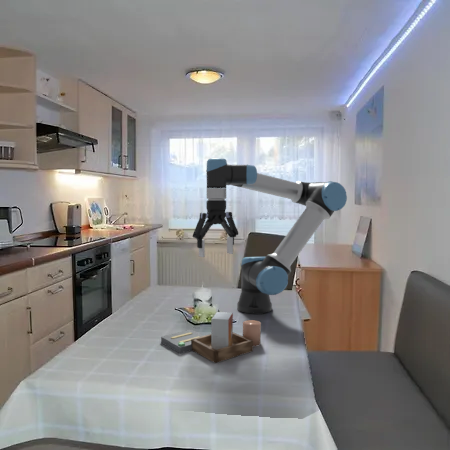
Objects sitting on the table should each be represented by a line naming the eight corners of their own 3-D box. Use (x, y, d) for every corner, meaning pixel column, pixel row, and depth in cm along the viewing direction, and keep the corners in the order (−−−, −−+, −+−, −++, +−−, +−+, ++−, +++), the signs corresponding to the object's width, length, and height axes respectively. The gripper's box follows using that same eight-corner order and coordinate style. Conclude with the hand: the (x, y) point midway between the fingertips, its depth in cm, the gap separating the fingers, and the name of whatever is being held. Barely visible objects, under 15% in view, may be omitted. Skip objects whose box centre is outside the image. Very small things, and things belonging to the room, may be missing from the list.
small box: (228, 352, 127) (228, 319, 126) (210, 351, 128) (211, 318, 127) (233, 343, 135) (233, 312, 134) (216, 342, 136) (216, 311, 135)
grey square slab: (190, 334, 145) (190, 327, 145) (210, 344, 136) (210, 337, 136) (161, 342, 138) (161, 334, 138) (180, 353, 128) (180, 345, 128)
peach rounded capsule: (252, 338, 142) (252, 319, 141) (264, 343, 137) (264, 323, 137) (239, 342, 138) (239, 322, 138) (250, 347, 134) (251, 327, 133)
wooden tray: (227, 339, 141) (227, 329, 141) (252, 351, 131) (252, 340, 130) (191, 349, 132) (191, 339, 131) (215, 363, 121) (215, 351, 121)
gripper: (235, 199, 165) (234, 251, 167) (183, 199, 150) (183, 256, 151) (247, 199, 159) (246, 253, 161) (194, 200, 144) (194, 259, 146)
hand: (216, 255), depth 156 cm, fingers open, 13 cm apart
